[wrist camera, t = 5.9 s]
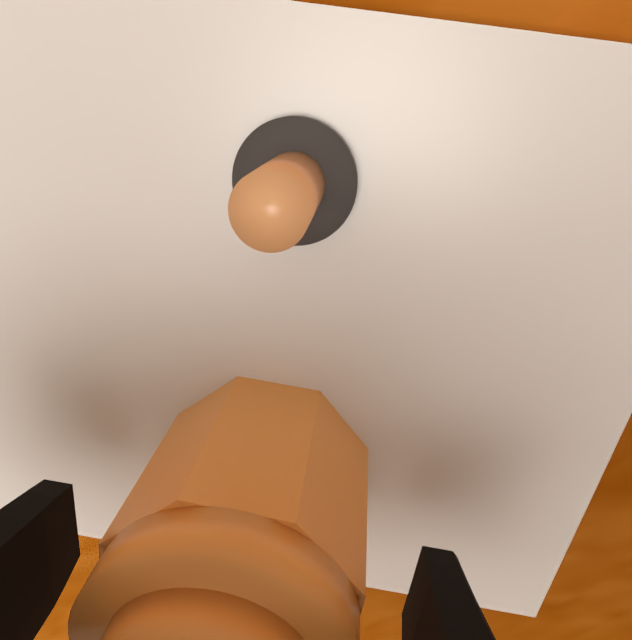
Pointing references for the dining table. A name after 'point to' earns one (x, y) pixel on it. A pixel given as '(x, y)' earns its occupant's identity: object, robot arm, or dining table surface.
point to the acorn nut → (238, 527)
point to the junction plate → (322, 258)
